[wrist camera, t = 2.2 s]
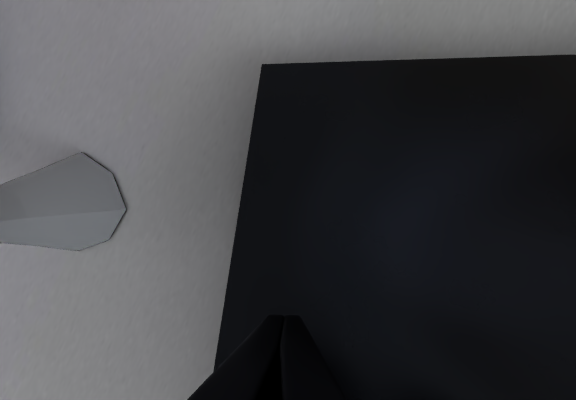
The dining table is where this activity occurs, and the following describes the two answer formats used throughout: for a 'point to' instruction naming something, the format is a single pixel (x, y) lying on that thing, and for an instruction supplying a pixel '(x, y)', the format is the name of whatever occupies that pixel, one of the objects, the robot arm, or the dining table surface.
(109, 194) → the flask
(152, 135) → the dining table surface
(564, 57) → the laptop screen
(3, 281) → the dining table surface
